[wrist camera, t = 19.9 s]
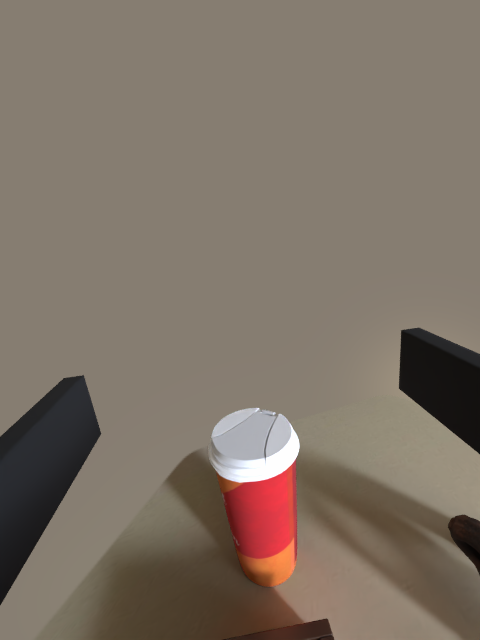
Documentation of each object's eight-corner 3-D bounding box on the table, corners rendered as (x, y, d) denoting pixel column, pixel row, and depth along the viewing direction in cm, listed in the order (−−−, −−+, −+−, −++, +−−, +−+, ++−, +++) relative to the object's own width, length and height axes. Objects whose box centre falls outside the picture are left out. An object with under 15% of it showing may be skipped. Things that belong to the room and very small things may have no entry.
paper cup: (254, 505, 33) (238, 397, 29) (320, 537, 29) (312, 416, 25) (211, 572, 27) (184, 447, 23) (286, 626, 22) (269, 483, 19)
